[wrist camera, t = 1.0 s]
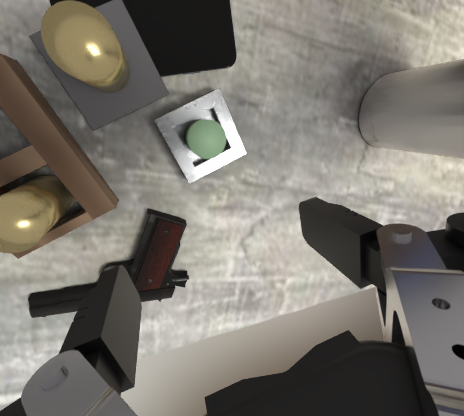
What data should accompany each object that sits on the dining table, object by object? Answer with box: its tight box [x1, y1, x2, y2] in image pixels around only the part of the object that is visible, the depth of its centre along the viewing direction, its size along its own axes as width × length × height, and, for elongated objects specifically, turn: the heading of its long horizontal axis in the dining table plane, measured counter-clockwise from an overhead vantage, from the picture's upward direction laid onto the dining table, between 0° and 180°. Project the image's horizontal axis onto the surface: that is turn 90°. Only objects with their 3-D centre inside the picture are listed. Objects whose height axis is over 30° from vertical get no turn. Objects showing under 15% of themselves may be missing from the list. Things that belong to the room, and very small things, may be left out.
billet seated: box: [0, 175, 75, 253], centre depth 20 cm, size 4×4×8 cm
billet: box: [41, 0, 130, 93], centre depth 18 cm, size 4×4×8 cm
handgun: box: [28, 208, 189, 318], centre depth 28 cm, size 2×17×12 cm
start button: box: [186, 119, 226, 159], centre depth 23 cm, size 4×4×2 cm
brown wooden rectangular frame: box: [0, 54, 119, 259], centre depth 21 cm, size 10×14×2 cm
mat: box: [29, 0, 169, 130], centre depth 22 cm, size 8×8×1 cm
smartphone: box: [50, 0, 236, 77], centre depth 22 cm, size 7×1×15 cm
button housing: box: [154, 88, 246, 184], centre depth 25 cm, size 7×7×2 cm
